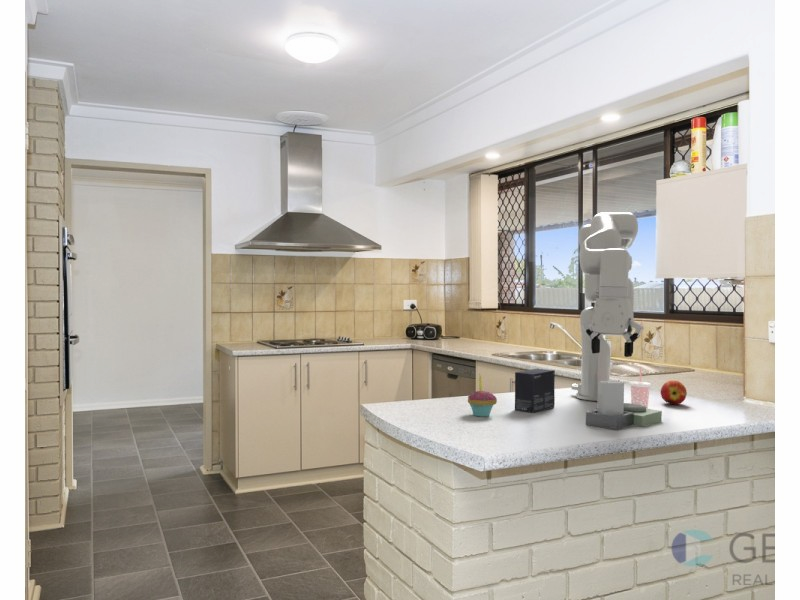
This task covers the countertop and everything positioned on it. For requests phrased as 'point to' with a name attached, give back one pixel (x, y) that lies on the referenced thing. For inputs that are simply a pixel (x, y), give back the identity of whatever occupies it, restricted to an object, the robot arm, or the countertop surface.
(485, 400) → the cupcake
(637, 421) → the green domed square base
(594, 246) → the robot arm
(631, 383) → the beverage cup
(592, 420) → the frame
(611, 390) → the skincare box
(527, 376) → the small box
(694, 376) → the countertop surface
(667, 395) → the apple
